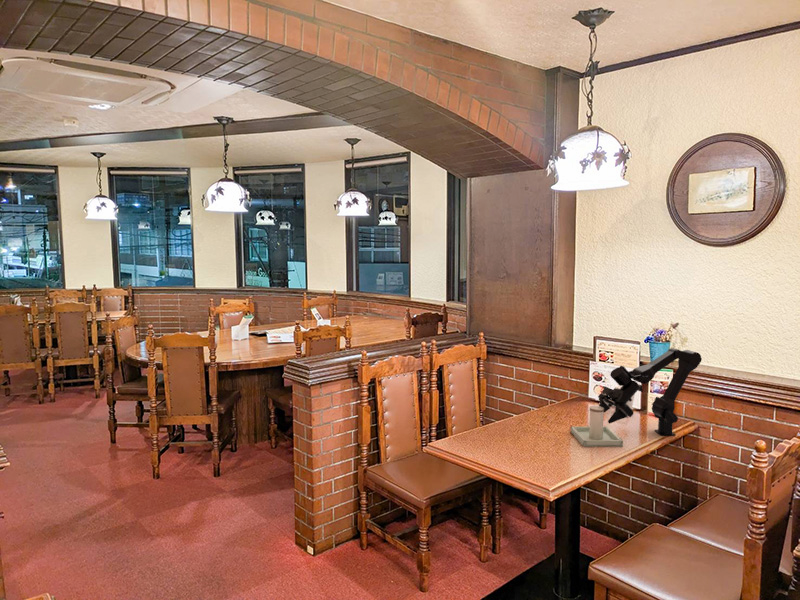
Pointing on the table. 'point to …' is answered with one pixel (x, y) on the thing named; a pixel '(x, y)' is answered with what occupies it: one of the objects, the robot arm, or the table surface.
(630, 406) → the foam cup
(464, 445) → the table surface
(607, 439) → the tray
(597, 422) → the tumbler
